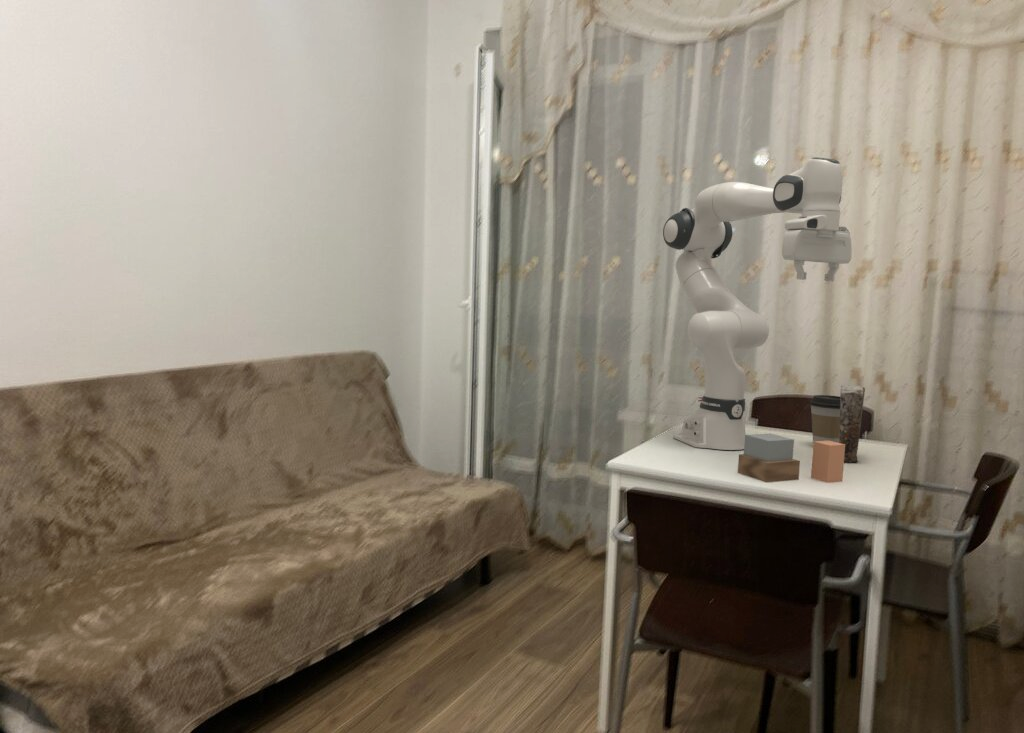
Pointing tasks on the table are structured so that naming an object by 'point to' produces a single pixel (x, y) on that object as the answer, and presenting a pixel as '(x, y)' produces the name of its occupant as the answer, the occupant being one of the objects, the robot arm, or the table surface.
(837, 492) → the table surface
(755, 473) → the tower base
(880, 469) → the table surface
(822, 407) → the coffee cup
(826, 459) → the terracotta block
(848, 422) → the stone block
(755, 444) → the tower top
